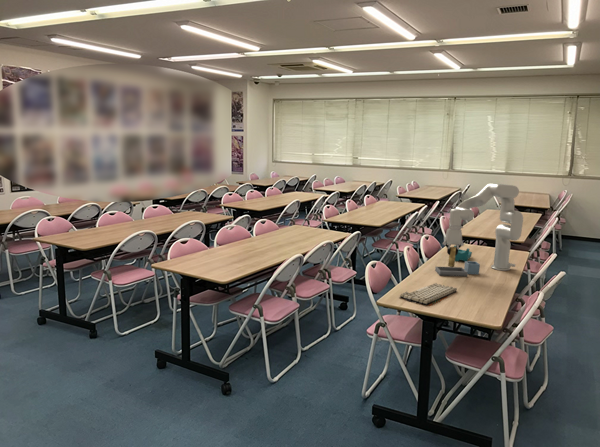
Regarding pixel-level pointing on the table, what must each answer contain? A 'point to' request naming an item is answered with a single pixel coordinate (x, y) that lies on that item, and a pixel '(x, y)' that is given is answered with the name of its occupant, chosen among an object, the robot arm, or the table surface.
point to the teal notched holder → (463, 255)
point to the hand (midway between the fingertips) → (452, 254)
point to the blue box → (472, 267)
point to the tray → (451, 271)
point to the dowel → (452, 257)
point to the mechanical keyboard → (429, 294)
